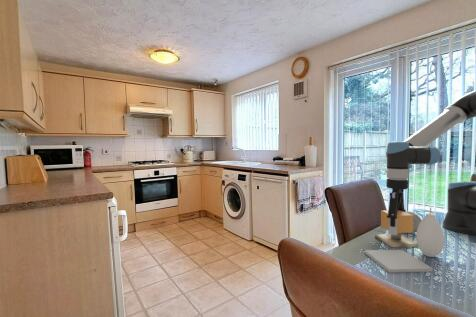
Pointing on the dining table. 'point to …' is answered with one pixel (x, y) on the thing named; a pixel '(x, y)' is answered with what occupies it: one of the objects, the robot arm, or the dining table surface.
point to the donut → (415, 220)
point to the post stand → (396, 240)
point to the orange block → (398, 221)
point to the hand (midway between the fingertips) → (396, 230)
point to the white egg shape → (430, 236)
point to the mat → (398, 261)
